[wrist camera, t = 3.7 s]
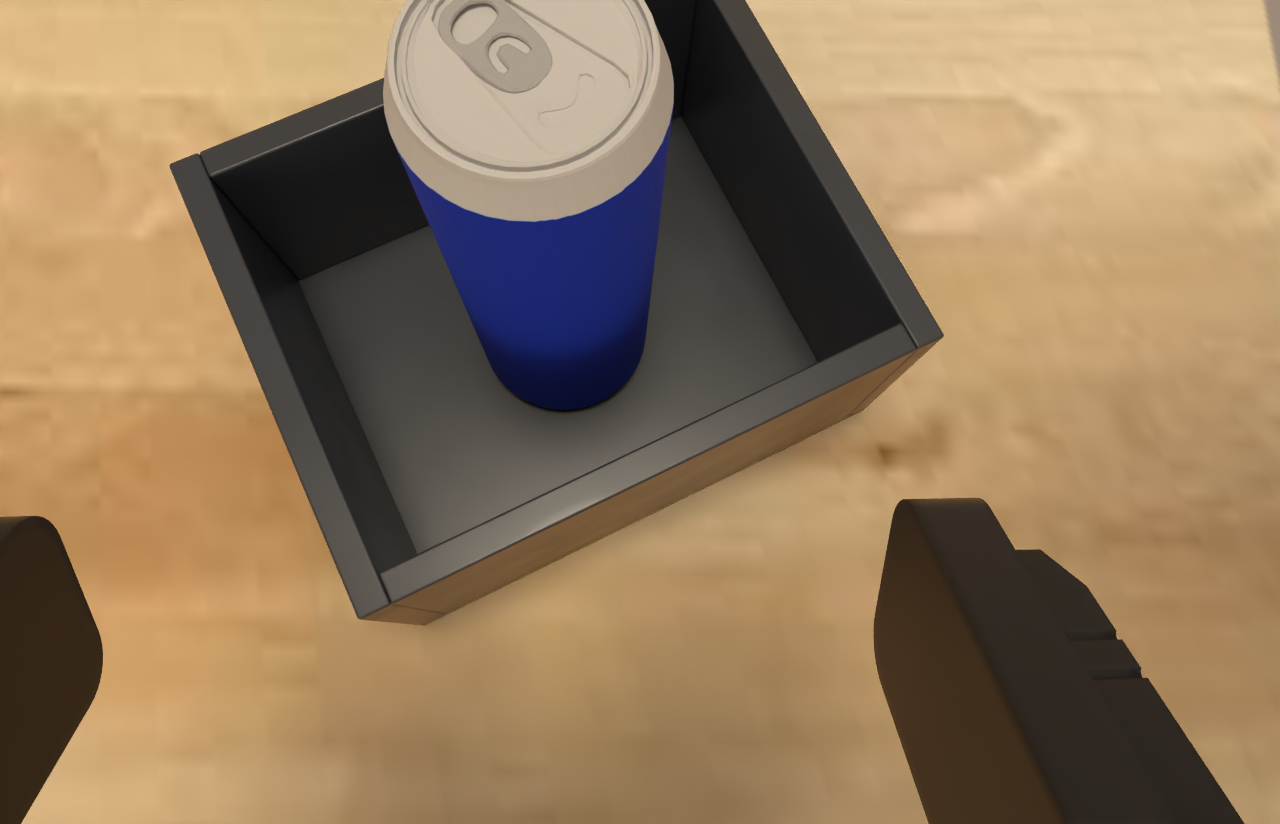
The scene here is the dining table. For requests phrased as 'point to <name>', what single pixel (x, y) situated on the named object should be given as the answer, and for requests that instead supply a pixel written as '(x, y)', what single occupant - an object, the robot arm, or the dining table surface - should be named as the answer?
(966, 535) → the robot arm
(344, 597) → the dining table surface
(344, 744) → the dining table surface
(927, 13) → the dining table surface
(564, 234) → the beverage can
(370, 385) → the dark grey open box
